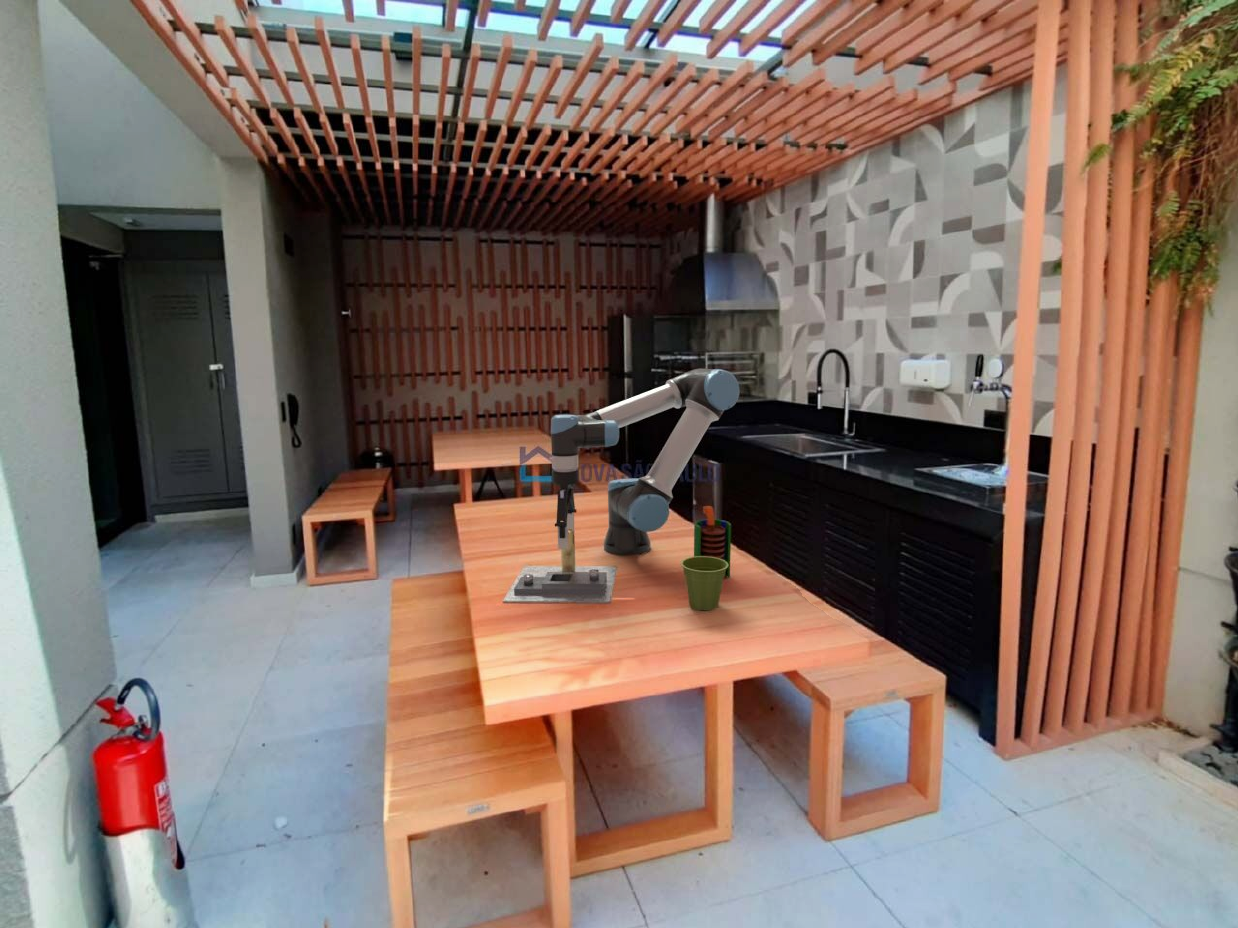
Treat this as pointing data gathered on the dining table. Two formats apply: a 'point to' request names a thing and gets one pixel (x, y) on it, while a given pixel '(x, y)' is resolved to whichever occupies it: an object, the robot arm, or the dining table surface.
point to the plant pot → (704, 580)
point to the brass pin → (569, 554)
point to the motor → (713, 538)
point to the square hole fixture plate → (563, 585)
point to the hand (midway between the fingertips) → (566, 541)
